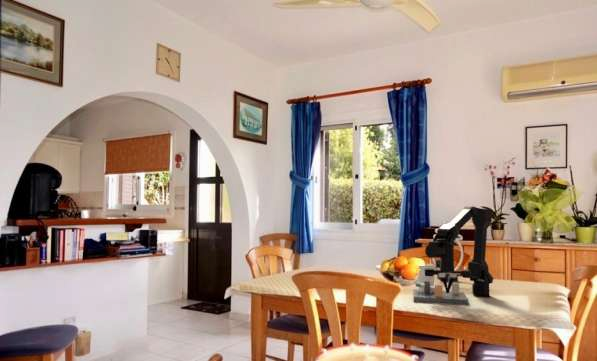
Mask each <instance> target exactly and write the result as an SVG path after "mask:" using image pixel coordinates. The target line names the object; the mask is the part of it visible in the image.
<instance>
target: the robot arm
mask: <svg viewBox="0 0 597 361" xmlns="http://www.w3.org/2000/svg"><path fill="white" fill-rule="evenodd" d="M470 220H471V222H472V223H473V225H474V227H475V229H474V230H475V231H474V241H473V242H474V243H473V244H474V245H473V258H472V260H471V261H468V263H467V268H466V269H463V268H462V269H461V268H459V271H458V270H456V271H454V269H455V246H458V243H457V242H455V241H456V240H455V239H456V238H458V237H459V236H458V235H460V230H461V229H462V227H464V226H465V225H466V224H467V223H468V222H469V221H470ZM492 220H493V212H492V210H491V209H490V208H481V207H476V206H474V205H473V206H464V208H463V209H462V210H461V212H460V213H458V214H456V216H455V217H454V218H453V219H452V220H451V221H450V222H449V223H448V224H445V225H443V224H442V226H440V227H439V228H437V229H438V231H437V233H436V232H435V233H436V234H434V235H435V237H434V238H433V240H432V241H429V242H428V245H426V247H425V249H424V250H425V251H424V253H425V255H426V257H427V258H429V259H432V258H434V259H436V258H439V259H438V260H437V259H436V260H435V262H436V266H435V270H434V268H425V270H424V271H425V276H434V274H435V276H436V275H438V277H439V279H442V281H441V282H442V283H443V285H444V286H443V287H444V290H445V291H446V293H449V291H450V290H451V285H452V283H453V281H454V280H455V279H457V278H456V276H457V275H458V276H461V277H462V278H464V279H469V280H470V282H473V283H472V286H471V287H472V289H471V290H472V291H471V292H472V294H473V295H474V297H482V298H491V295H490V284H493V283H494V277H493V275H492V274H491V273H490V271H489V265H488V263H487V261H486V251H487V248H486V247H487V234H488V228H489V226H490V225H491V223H492ZM437 268H440V270H438V269H437ZM445 275H449V276H448V282H447V281H446V277H445ZM439 279H438V280H439Z"/></svg>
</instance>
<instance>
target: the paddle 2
mask: <svg viewBox="0 0 597 361" xmlns="http://www.w3.org/2000/svg"><path fill="white" fill-rule="evenodd" d="M450 290H451V293H452V294H459V292H460V282H459V281H458V282H453V283H452V285H451V288H450Z"/></svg>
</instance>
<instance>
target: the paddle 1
mask: <svg viewBox="0 0 597 361" xmlns="http://www.w3.org/2000/svg"><path fill="white" fill-rule="evenodd" d="M443 285H444V284H435V283H434V287H435V297H443V291H444V290H443V287H444V286H443Z"/></svg>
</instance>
